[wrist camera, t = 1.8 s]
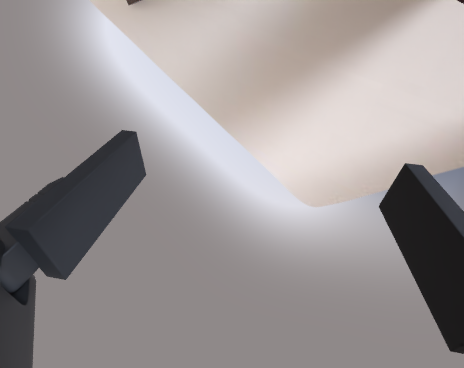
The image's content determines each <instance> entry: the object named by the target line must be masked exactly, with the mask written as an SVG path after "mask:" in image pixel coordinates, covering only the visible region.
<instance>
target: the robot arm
mask: <svg viewBox="0 0 464 368" xmlns="http://www.w3.org/2000/svg"><path fill="white" fill-rule="evenodd" d="M145 176H146V172H145V168H144V163H143V159H142V155H141V150H140V146H139V142H138V138H137V133H136V132H133V131H125V130H122V131H121V132H119V133H118V134H117V135H116V136H114V137H113V138H112V139H111V140H110V141H108V142H107V143H106V144H105V145H103V146H102V147H101V148H100V149H99V150H97V151H96V152H95V153H94V154H93V155H91V156H90V157H89V158H88V159H87V160H85V161H84V162H83V163H82V164H80V165H79V166H78V167H77V168H75V169H74V170H73V171H72V172H71V173H69V174H68V175H67V176H66V177H64V178H63V177H62V178H60V179H58V180H56V181H54V182H52V183H50V184H48V185H47V186H46V187H44V188H43V189H42V190H40V191H39V192H38V194H36V195H34V196H33V197H31V198H30V199H29V201H28V202H25V203H24V204H23V205H21V206H20V207H19V208H18V209H16V210H15V211H14V212H13V213H11V214H10V215H9V216H7V217H6V218H5V219H4V220H2V221H1V222H0V368H32V364H33V363H32V362H33V339H34V317H35V316H34V315H35V293H36V280H35V276H34V275H33V274H34V273H35V271H36V270H37V269H38V268H40V269H41V270H42V271H43V272H44V274H45V275H46V276H48V277H53V278H59V279H64V280H66V279H67V278H68V276H69V275H70V274H71V272H72V271H73V270H74V269H75V267H76V266H77V265H78V263H79V262H80V261H81V259H82V258H83V257H84V255H85V254H86V253H87V252H88V250H89V249H90V248H91V246H92V245H93V244H94V242H95V241H96V240H97V238H98V237H99V236H100V235H101V233H102V232H103V231H104V229H105V228H106V227H107V225H108V224H109V223H110V221H111V220H112V219H113V218H114V216H115V215H116V214H117V212H118V211H119V210H120V208H121V207H122V206H123V204H124V203H125V202H126V200H127V199H128V198H129V197H130V195H131V194H132V193H133V191H134V190H135V189H136V187H137V186H138V185H139V183H140V182H141V181H142V180H143V178H144V177H145ZM379 208H380V210H381V212H382V214H383V216H384V218H385V220H386V222H387V224H388V226H389V228H390V230H391V232H392V234H393V236H394V238H395V240H396V242H397V244H398V246H399V248H400V250H401V252H402V254H403V256H404V258H405V260H406V263H407V265H408V267H409V269H410V271H411V273H412V275H413V277H414V279H415V281H416V283H417V285H418V287H419V289H420V291H421V293H422V295H423V297H424V299H425V301H426V303H427V305H428V307H429V309H430V311H431V313H432V315H433V317H434V319H435V321H436V323H437V325H438V327H439V329H440V331H441V333H442V336H443V338H444V340H445V341H446V344H447V346H448V348H449V350H450V351H452V352H457V353H462V354H464V211H463V210H462V209H461V208H460V207H459V206H458V205H457V204H456V202H455V201H454V200H453V199H452V198H451V197H450V196H449V195H448V193H447V192H446V191H445V190H444V189H443V188H442V187H441V186H440V184H439V183H438V182H437V181H436V180H435V179H434V178H433V176H432V175H431V174H430V173H429V172H428V171H427V170H426V169H425V167H424V166H423V165H415V164H406V163H405V164H404V166H403V168H402V169H401V171H400V172H399V174H398V176H397V177H396V179H395V181H394V182H393V184H392V185H391V187H390V189H389V190H388V192H387V194H386V195H385V197H384V198H383V200H382V202H381V203H380V205H379Z"/></svg>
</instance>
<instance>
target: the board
mask: <svg viewBox="0 0 464 368" xmlns="http://www.w3.org/2000/svg"><path fill="white" fill-rule="evenodd" d="M139 1H141V0H127V3H128V5H131V4H134V3H137V2H139Z"/></svg>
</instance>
